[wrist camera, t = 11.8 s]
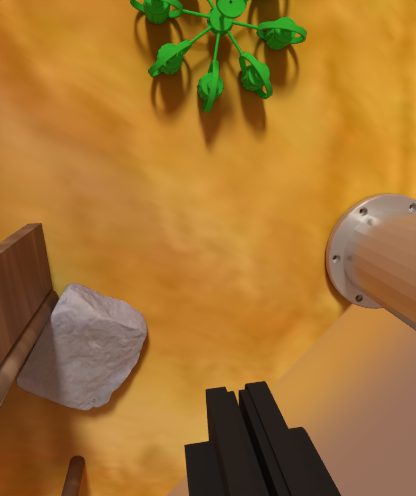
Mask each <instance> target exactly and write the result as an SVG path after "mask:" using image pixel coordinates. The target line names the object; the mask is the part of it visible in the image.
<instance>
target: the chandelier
mask: <svg viewBox="0 0 416 496" xmlns="http://www.w3.org/2000/svg"><path fill="white" fill-rule="evenodd" d="M207 1H208V2H209V4H210V6H211V7H212V9H211V10H210V12H209V13H208V15H206V14H202V13H197V12H193V11H188V10H184V9H183V5H182V4H181V3H180V2H179V1H178V0H144V3H143V5H142V4H140V3H139V2H137V1H136V0H130V3H131V5H132V6H133V7H134V8H136V9H137V10H139V11H141V12H144V13H145V16H146V17H147V18H148V19H149V21H150V22H153V23H154V24H161V23H162V22H164V21H166V18H176V17H180V16H181V15H182V13H186V14H191V15H195V16H200V17H204V18H207V24H208V28H207V29H205V30H204V31H203V32H201V33H200V34H199V35H197V36H196V37H195V38H194V39H192V40H191V41H190V42H189V41H188V40H185V41H183V42H181V43H179V44H178V45H174V44H171V43H169V44H168V43H167V44H165V45H163V46H162V47H161V49H159V50H158V55H157V61H156V62H155V63H154V64H153V65H152V66H151V67H150V69H149V70H148V73H149V74H150V76H151V77H155V76H156V75H158V74H160V73H161V72H164V73H165V74H170V75H172V74H173V73H177V70H179V69H180V68H181V65H182V60H183V57H182V56H183V55H184V54H185V53H186V52H187V51H188V50H189V49H190V48H191V46H192V45H191V44H192V43H194V42H195V41H196V40H197V39H199V38H200V37H201V36H203V35H204V34H205V33H207V32H208V31H209V30H211V31H212V32H213V33H214V34H216V35H217V38H216V45H215V52H214V58H213V60H212V61H211V63H210V66H209V70H208V74H205V75H204V76H203V77H202V78H201V79H200V80H199V83H198V86H197V89H198V90H197V93H198V94H199V96H200V98H202V99H203V112H207V113H210V111H211V109H212V106H213V102H214V100H215V99H217V98H218V96H220V95H221V94H222V90H223V89H224V88H223V81H222V79H221V77H220V76H219V75H218V74H219V62H218V61H216V57H217V51H218V44H219V38H220V35H225V34H227V33H228V35H229V37H230V38H231V40H232V42H233V43H234V45H235V46H236V48H237V50H238V51H239V53H240V55H241V56H240V57H239V63H240V67H241V70H242V72H243V73H242V74H241V83H242V86H243V87H245V89H246V90H250V91H253V90H254V91H255V92H256V93H257V94H258V95H259V96H260V97H261V98H263V99H267V98H269V97H270V96H271V95H272V86H271V83H270V80H269V76H270V72H269V69H268V67H267V66H266V65H265V64H264V63H261V62H258V61H257V60H256V58H255V57H254V56H252V55H251V54H250V53H247V52H245V53H244V54H243V52H242V51H241V49H240V47H239V46H238V44H237V42H236V41H235V39H234V37H233V36H232V34H231V32H230V30H231V28H232V26H233V24H235V25H240V26H244V27H248V28H253V29H257V32H256V33H257V35H258V36H259V37H260V38H262V39H265V40H266V43H267V45H268V46H269V47H270V48H272V49H274V50H276V49H277V50H280V49H281V48H283V47H285V46H287V45H288V44H297V43H301V42H303V41H305V39H306V34H307V32H306V30H305V29H304V28H302V27H300V26H298V25H296V24H295V22H294V21H293V20H292V19H291V18H289V17H283V18H279V19H278V20H276V21H268V22H263V23H260V24H259V25H258V26H255V25H250V24H246V23H241V22H237V21H233V19H234V18H237V17H239V16H240V15H241V14H242V13H243V11H244V10H245V8H246V5H247V1H248V0H216V6H214V5H213V3H212V1H211V0H207ZM170 5H172V6H174V7H176V8H177V9H178V10H176V11H170ZM162 13H163V14H162ZM263 29H268V30H267V31H266V33H265V32H263V31H262V30H263ZM296 33H298V34H300V35H301V36H300V37H294V36H295V34H296ZM275 37H276V38H275ZM272 41H273V42H272ZM279 41H280V42H279ZM245 59H247V60H248V61H249V62H250V63H251V64H250V65H249V66H248V67H247V66H246V63H245ZM164 70H165V71H164ZM169 70H170V71H169ZM247 74H248V75H247ZM244 81H245V82H244ZM250 83H251V84H250ZM264 85H265V88H266V91H267V94H266V93H264V92H263V91H262V90H261V89H260V88H262V87H263V86H264Z"/></svg>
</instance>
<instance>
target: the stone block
mask: <svg viewBox="0 0 416 496" xmlns="http://www.w3.org/2000/svg"><path fill="white" fill-rule="evenodd" d="M146 335H147V325H146V323H145V320H144V318H143V315H142V314H141V313H140V312H139V311H137V310H135V309H134V308H133V307H131V306H130V305H129V304H128V303H126V302H124V301H120V300H117V299H114V298H112V297H106V296H103V295H101V294H99V293H98V292H96V291H94V290H92V289H90V288H87V287H84V286H81V285H79V284H74V283H72V284H69V285H67V287H66V289H65V290H64V292H63V294H62V295H61V297H60V299H59V301H58V302H57V304H56V306H55V308H54V310H53V312H52V314H51V316H50V317H49V319H48V321H47V323H46V325H45V327H44V328H43V330H42V332H41V334H40V336H39V338H38V340H37V342H36V344H35V346H34V348H33V349H32V351H31V353H30V355H29V357H28V359H27V361H26V362H25V364H24V366H23V368H22V369H21V371H20V373H19V375H18V377H17V379H16V382H17V385H18V386H19V387H21V388H22V389H24V390H25V391H26V392H29V393H32V394H34V395H37V396H41V397H43V398H46V399H48V400H51V401H53V402H56V403H58V404H61V405H63V406H66V407H70V408H76V409H81V410H89V409H91V408H92V407H96V408H98V407H100V406H102V405H104V404H106V403H107V402H108V401H109V400H110V397H111V395H112V393H113V391H114V390H116V389H117V388H119V386H120V385H121V384H122V383H123V381H124V380H125V379H126V378H127V376H128V375H129V373H130V372H131V370H132V368H133V367H134V366H135V364H136V363H137V361H138V359H139V355H140V350H142V345H143V342H144V340H145V338H146Z"/></svg>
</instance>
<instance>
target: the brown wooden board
mask: <svg viewBox="0 0 416 496" xmlns="http://www.w3.org/2000/svg"><path fill="white" fill-rule="evenodd" d="M51 288H52V282H51V276H50V270H49V264H48V259H47V253H46V247H45V242H44V236H43V230H42V224H41V223H35V224H27V225H26V226H24V227H23V228H21V229H20V230H18V231H17V232H15V233H14V234H12V235H11V236H9V237H8V238H6V239H5V240H3V241H2V242H0V403H1V401H2V399H3V398H4V396H5V394H6V392H7V391H8V389H9V387H10V385H11V384H12V382H13V380H14V378H15V377H16V375H17V373H18V371H19V370H20V368H21V366H22V364H23V363H24V361H25V359H26V357H27V356H28V354H29V352H30V350H31V349H32V347H33V345H34V343H35V342H36V340H37V338H38V336H39V335H40V333H41V331H42V329H43V328H44V326H45V324H46V322H47V321H48V319H49V317H50V315H51V314H52V312H53V310H54V308H55V306H56V304H57V302H58V301H59V297H58V295H57V293H56V292H55V291H53V290H50V289H51ZM84 463H85V460H84V458H83V457H81V456H74V457H73V458H71V460H70V464H69V468H68V472H67V476H66V480H65V484H64V488H63V492H62V496H78V493H79V488H80V483H81V478H82V473H83V468H84Z"/></svg>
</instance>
